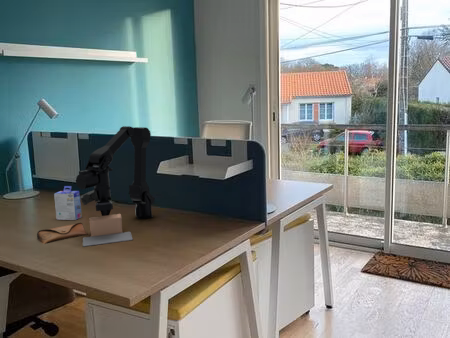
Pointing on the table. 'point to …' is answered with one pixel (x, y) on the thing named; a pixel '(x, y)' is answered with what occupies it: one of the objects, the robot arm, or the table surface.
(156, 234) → the table surface
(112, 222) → the beige rectangular block
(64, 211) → the ink cartridge box
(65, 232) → the sunglasses case
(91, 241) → the mat
